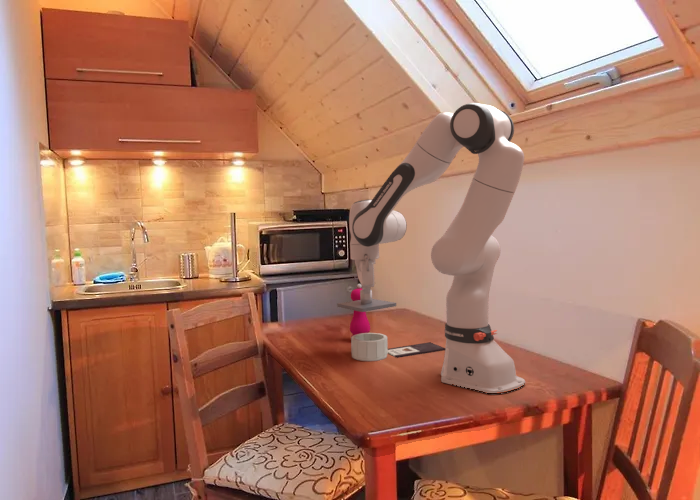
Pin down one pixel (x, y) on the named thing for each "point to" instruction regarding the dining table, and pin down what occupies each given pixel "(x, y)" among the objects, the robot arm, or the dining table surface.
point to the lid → (366, 304)
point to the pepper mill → (358, 316)
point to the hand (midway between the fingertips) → (366, 297)
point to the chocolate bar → (414, 349)
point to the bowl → (369, 346)
